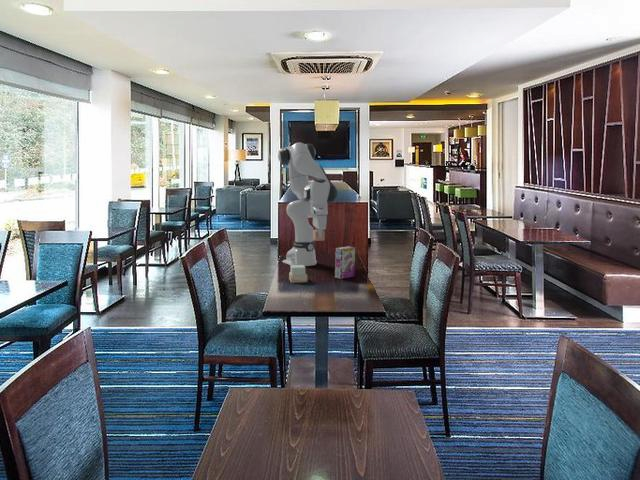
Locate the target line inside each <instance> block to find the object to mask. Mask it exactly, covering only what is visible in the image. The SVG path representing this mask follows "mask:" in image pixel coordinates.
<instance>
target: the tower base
mask: <svg viewBox="0 0 640 480" xmlns="http://www.w3.org/2000/svg"><path fill="white" fill-rule="evenodd" d="M288 280H289V281H290V283H291V284H292V283H295V284H296V283H308V274H307V272H305V275H292V274H291V271H289V272H288Z"/></svg>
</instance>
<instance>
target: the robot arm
mask: <svg viewBox="0 0 640 480" xmlns="http://www.w3.org/2000/svg"><path fill="white" fill-rule="evenodd" d="M316 154H317V153H316V149H315V147H314V145H313V144H312V143H303V142H296V143H295V142H294V144H293V145H289V146H283V147H281V148H279V150H278V154H277V158H278V161H279V162H280V164H281V165H282V166H288V179H289V183H290V189H291V192H292V193H293V194H294V195H295V196H296V198H297V199H298V200H294V201H291V202H289V203H288V204H287V206H286V212H285V213H286V214H287V217H289V218H290V219H291V222H292V223H293V227H294V237H295V238H294V241H293V242H292V244H293V246H292V248H291V249H289V250H288V251H287V252H286V258H285V259H283V260H282V261H281V262H282V263H284V264H287V265H289V266H290V265H304V266H305V267H310V266H316V265H317V263H318V260H316V250H315V240H314V230H318V237H322V232H323V230H324V231H326V229H327V221H328V219H327V218H328V215H329V210H328V203H330V204H332V203H333V202H334V201H335V200H336V199H337V198H338V190H337V187H336V186H335V185H334V183H333V182H332V181H331V179H330V178H329V176H328V174H327V173H326V171H325V169H324V168H323V167H322V165H321V164H320V163H318V162H317V161H315V159H316ZM309 176H310V177H313V179H312V180H311V182H310V180H309ZM309 218H312V225H313V226H314V227H313V226H312V225H310V222H309ZM314 228H315V229H314Z"/></svg>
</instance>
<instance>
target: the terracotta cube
mask: <svg viewBox="0 0 640 480" xmlns="http://www.w3.org/2000/svg"><path fill="white" fill-rule="evenodd" d="M325 231H326V230H323V232H322V237H318V230H316V229H314V242H317V241H318V242H319V241H320V242H321V241H322V242H323V241H326V240H325V239H326V237H325V235H326V234H325V233H326V232H325Z"/></svg>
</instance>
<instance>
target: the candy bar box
mask: <svg viewBox="0 0 640 480" xmlns="http://www.w3.org/2000/svg"><path fill="white" fill-rule="evenodd" d="M334 250H335V251H334V254H335V255H334V256H335V257H334V258H335V259H334V261H335V262H334V266H335V267H334V279H338V280H345V279H348V278H353V277H355V276H356V275H355V271H356V266H355V265H356V247H355V246H341V247H336V248H335V249H334Z"/></svg>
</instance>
